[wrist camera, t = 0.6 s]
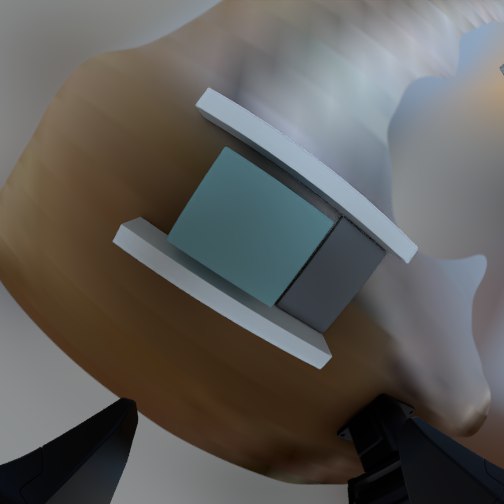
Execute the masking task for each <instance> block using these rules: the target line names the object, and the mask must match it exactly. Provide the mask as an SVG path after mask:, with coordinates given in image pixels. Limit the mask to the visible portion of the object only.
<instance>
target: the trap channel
mask: <svg viewBox="0 0 504 504" xmlns="http://www.w3.org/2000/svg"><path fill="white" fill-rule="evenodd" d="M195 106H196V107H197V108H198V110H199V111H200V113H201V114H202V115H203V117H204V118H206V119H208V120H209V121H211V122H212V123H214V124H216V125H217V126H219V127H221V128H222V129H224V130H225V131H227V132H229V133H230V134H232V135H233V136H235V137H236V138H238V139H239V140H241V141H243V142H244V143H246V144H247V145H249V146H250V147H252V148H253V149H255V150H256V151H258V152H259V153H261V154H262V155H263V156H265V157H266V158H268V159H269V160H271V161H272V162H274V163H275V164H276V165H278V166H279V167H281V168H282V169H284V170H285V171H286V172H288V173H289V174H291V175H292V176H293V177H295V178H296V179H297V180H299V181H300V182H301V183H303V184H304V185H305V186H307V187H308V188H309V189H311V190H312V191H313V192H315V193H316V194H317V195H319V196H320V197H321V198H323V199H324V200H325V201H326V202H328V203H329V204H330V205H332V206H333V207H334V208H335V209H337V210H338V211H339V212H340V213H342V214H343V215H344V216H345V217H347V218H348V219H349V220H350V221H351V222H353V223H354V224H355V225H356V226H358V227H359V228H360V229H361V230H362V231H363V232H365V233H366V234H367V235H368V236H369V237H371V238H372V239H373V240H374V241H375V242H376V243H378V244H379V245H380V246H381V247H382V248H383V249H384V250H385V251H387V252H388V253H390V254H392V255H394V256H395V257H397V258H399V259H400V260H402V261H404V262H405V263H407V264H408V263H409V262H410V260H411V259H412V257H413V256H414V254H415V253H416V251H417V250H418V247H417V246H416V245H415V244H414V243H413V242H412V241H411V240H410V239H409V238H408V237H407V236H406V235H405V234H404V233H403V232H402V231H401V230H400V229H399V228H398V227H397V226H396V225H395V224H394V223H393V222H391V221H390V220H389V219H388V218H387V217H386V216H385V215H384V214H383V213H382V212H381V211H380V210H378V209H377V208H376V207H375V206H374V205H373V204H372V203H371V202H370V201H368V200H367V199H366V198H365V197H364V196H363V195H361V194H360V193H359V192H358V191H357V190H356V189H354V188H353V187H352V186H351V185H350V184H348V183H347V182H346V181H345V180H344V179H342V178H341V177H340V176H339V175H337V174H336V173H335V172H334V171H332V170H331V169H330V168H329V167H327V166H326V165H325V164H324V163H322V162H321V161H320V160H318V159H317V158H316V157H314V156H313V155H312V154H310V153H309V152H308V151H306V150H305V149H304V148H302V147H301V146H300V145H298V144H297V143H295V142H294V141H293V140H291V139H290V138H288V137H287V136H285V135H284V134H283V133H281V132H280V131H278V130H277V129H275V128H274V127H272V126H271V125H269V124H268V123H266V122H265V121H263V120H262V119H260V118H259V117H257V116H256V115H254V114H252V113H251V112H249V111H248V110H246V109H245V108H243V107H241V106H240V105H238V104H236V103H235V102H233V101H231V100H230V99H228V98H226V97H225V96H223V95H221V94H220V93H218V92H216V91H214V90H212V89H211V88H208V89H207V90H206V91H205V93H204V94H203V95H202V97H201V98H200V99H199V101H198V102H197V103H196V105H195ZM167 236H168V235H167V234H165V233H164V232H162V231H161V230H159V229H158V228H156V227H155V226H153V225H152V224H150V223H149V222H148V221H146V220H145V219H143V218H142V217H138V218H136V219H133V220H131V221H128V222H125V223H123V224H121V226H120V228H119V230H118V232H117V234H116V236H115V238H114V240H113V242H114V243H115V244H116V245H118V246H119V247H121V248H122V249H123V250H125V251H126V252H127V253H129V254H130V255H132V256H133V257H135V258H136V259H137V260H139V261H140V262H142V263H143V264H145V265H146V266H147V267H149V268H150V269H152V270H153V271H155V272H156V273H158V274H159V275H161V276H162V277H164V278H165V279H167V280H168V281H170V282H171V283H173V284H174V285H176V286H177V287H179V288H180V289H182V290H183V291H185V292H186V293H188V294H190V295H191V296H193V297H194V298H196V299H197V300H199V301H201V302H202V303H204V304H205V305H207V306H209V307H210V308H212V309H213V310H215V311H217V312H218V313H220V314H222V315H223V316H225V317H227V318H228V319H230V320H232V321H233V322H235V323H237V324H238V325H240V326H242V327H243V328H245V329H247V330H249V331H250V332H252V333H254V334H256V335H257V336H259V337H261V338H263V339H264V340H266V341H268V342H270V343H271V344H273V345H275V346H277V347H279V348H281V349H282V350H284V351H286V352H288V353H290V354H292V355H294V356H295V357H297V358H299V359H301V360H303V361H305V362H307V363H309V364H311V365H313V366H315V367H316V368H318V369H321V368H322V367H323V366H324V365H325V364H326V363H327V362H328V361H329V360H330V359H331V358H332V355H331V353H330V350H329V348H328V346H327V344H326V341H325V339H324V337H323V335H322V333H324V332H325V331H326V330H327V329H328V327H329V326H330V325H331V324H332V323H333V322H334V320H335V319H336V318H337V317H338V316H339V315H340V313H341V312H342V311H343V310H344V308H345V307H346V306H347V305H348V304H349V302H350V301H351V300H352V299H353V297H354V296H355V295H356V294H357V292H358V291H359V290H360V288H361V287H362V286H363V285H364V283H365V282H366V281H367V279H368V278H369V277H370V275H371V274H372V273H373V271H374V270H375V269H376V267H377V266H378V265H379V263H380V262H381V260H382V259H383V258H384V256H385V255H386V253H385V252H384V251H383V250H382V249H381V248H379V247H378V246H377V245H376V244H375V243H374V242H373V241H371V240H370V239H369V238H368V237H367V236H366V235H364V234H363V233H362V232H361V231H360V230H358V229H357V228H356V227H355V226H354V225H352V224H351V223H350V222H349V221H347V220H346V219H345V218H344V217H341V218H340V220H339V221H338V222H337V224H336V225H335V227H334V228H333V229H332V231H331V232H330V234H329V235H328V236H327V238H326V239H325V240H324V242H323V243H322V245H321V246H320V247H319V249H318V250H317V251H316V253H315V254H314V255H313V257H312V258H311V259H310V261H309V262H308V263H307V265H306V266H305V267H304V269H303V270H302V271H301V273H300V274H299V275H298V276H297V278H296V279H295V280H294V282H293V283H292V284H291V286H290V287H289V288H288V289H287V291H286V292H285V293H284V295H283V296H282V297H281V298H280V300H279V301H278V302H277V306H279V307H280V308H279V307H277V306H276V305H274V304H273V306H272V307H269V306H268V305H266V304H265V303H263V302H261V301H260V300H258V299H256V298H255V297H253V296H252V295H250V294H248V293H247V292H245V291H244V290H242V289H240V288H239V287H237V286H236V285H234V284H232V283H231V282H229V281H228V280H226V279H225V278H223V277H221V276H220V275H218V274H217V273H215V272H214V271H212V270H211V269H209V268H207V267H206V266H204V265H203V264H201V263H200V262H198V261H197V260H195V259H194V258H192V257H191V256H189V255H188V254H186V253H184V252H183V251H181V250H180V249H178V248H177V247H175V246H174V245H172V244H171V243H169V242H168V241H166V238H167ZM281 308H282V309H284V310H285V311H284V310H282V309H281ZM286 311H287V312H289V313H290V314H292V315H293V316H292V315H290V314H289V313H287V312H286ZM294 316H295V317H297V318H298V319H297V318H295V317H294ZM299 319H300V320H302V321H303V322H302V321H300V320H299ZM304 322H305V323H307V324H308V325H310V326H311V327H310V326H308V325H307V324H305V323H304ZM312 327H313V328H315V329H316V330H315V329H313V328H312ZM317 330H318V331H320V332H321V333H320V332H318V331H317Z"/></svg>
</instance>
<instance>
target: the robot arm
mask: <svg viewBox="0 0 504 504" xmlns="http://www.w3.org/2000/svg"><path fill="white" fill-rule="evenodd" d="M414 412H415V409H414V407H412V406H410V405H408V404H406V403H403V402H401V401H399V400H397V399H394V398H392V397H390V396H388V395H386V394H382V395H380V396H379V397H378V398H377V399H376V400H374V401H373V402H372V403H371V404H370V405H369V406H368V407H367V408H366V409H365V410H363V411H362V412H361V413H360V414H359V415H358V416H357V417H355V418H354V419H353V420H352V421H351V422H349V423H348V424H347V425H346V426H345V427H343V428H342V429H341V430H340V431H338V432H337V435H338V437H339V438H341V439H345V440H349V441H352V442H353V443H354V446H355V449H356V451H357V454H358V456H359V458H360V460H361V463H362V466H363V469H364V472H366V473H364V474H362V475H360V476H358V477H356V478H352V479H350V480H348V497H349V504H504V469H502V468H500V467H498V466H496V465H495V464H492V463H491V462H489V461H487V460H486V459H483V458H482V457H481V456H479V455H477V454H476V453H474V452H472V451H471V450H469V449H468V448H466V447H464V446H463V445H461V444H459V443H458V442H456V441H454V440H453V439H452V438H450V437H448V436H447V435H445V434H444V433H442V432H441V431H439V430H437V429H436V428H434V427H433V426H431V425H430V424H428V423H427V422H425V421H424V420H422V419H421V418H419V417H411V418H409V417H410V416H411V415H412V414H413V413H414ZM137 424H138V413H137V406H136V402H135V401H134V400H131V399H128V398H121V399H119V400H118V401H116V402H114V403H113V404H111V405H110V406H108V407H107V408H105V409H103V410H102V411H100V412H99V413H97V414H95V415H94V416H92V417H91V418H89V419H87V420H86V421H84V422H82V423H81V424H79V425H77V426H76V427H74V428H73V429H71V430H69V431H67V432H66V433H64V434H62V435H61V436H59V437H57V438H56V439H54V440H52V441H50V442H49V443H47V444H45V445H43V447H39V448H38V449H36V450H34V451H32V452H30V453H28V454H26V455H24V456H22V457H20V458H18V459H15V460H13V461H10V462H8V463H5V464H2V465H0V504H110V502H111V500H112V497H113V495H114V492H115V490H116V487H117V485H118V483H119V480H120V478H121V475H122V473H123V470H124V468H125V465H126V463H127V460H128V457H129V453H130V449H131V445H132V442H133V438H134V435H135V431H136V428H137Z"/></svg>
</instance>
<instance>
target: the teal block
mask: <svg viewBox="0 0 504 504" xmlns="http://www.w3.org/2000/svg"><path fill="white" fill-rule="evenodd" d="M333 224H334V222H333V221H332V220H331V219H329V218H328V217H327V216H325V215H324V214H323V213H321V212H320V211H319V210H317V209H316V208H315V207H313V206H312V205H311V204H309V203H308V202H307V201H305V200H304V199H303V198H301V197H300V196H299V195H297V194H296V193H294V192H293V191H292V190H290V189H289V188H287V187H286V186H285V185H283V184H282V183H280V182H279V181H277V180H276V179H275V178H273V177H272V176H270V175H269V174H267V173H266V172H264V171H263V170H262V169H260V168H259V167H257V166H256V165H254V164H253V163H251V162H250V161H248V160H247V159H245V158H244V157H242V156H241V155H239V154H237V153H236V152H234V151H233V150H231V149H230V148H228V147H227V146H225V148H224V149H223V151H222V152H221V154H220V155H219V156H218V158H217V159H216V161H215V162H214V164H213V165H212V167H211V168H210V170H209V171H208V173H207V174H206V176H205V177H204V179H203V180H202V182H201V183H200V185H199V186H198V188H197V189H196V191H195V193H194V194H193V196H192V197H191V199H190V200H189V202H188V204H187V205H186V207H185V208H184V210H183V212H182V213H181V215H180V216H179V218H178V220H177V221H176V223H175V225H174V226H173V228H172V230H171V231H170V233H169V235H168V236H167V238H166V241H168V242H169V243H171V244H172V245H174V246H175V247H177V248H178V249H180V250H181V251H183V252H184V253H186V254H188V255H189V256H191V257H192V258H194V259H195V260H197V261H198V262H200V263H201V264H203V265H204V266H206V267H207V268H209V269H211V270H212V271H214V272H215V273H217V274H218V275H220V276H221V277H223V278H225V279H226V280H228V281H229V282H231V283H232V284H234V285H236V286H237V287H239V288H240V289H242V290H244V291H245V292H247V293H248V294H250V295H252V296H253V297H255V298H256V299H258V300H260V301H261V302H263V303H265V304H266V305H268V306H269V307H272V306H273V304H274V303H275V302H276V301H277V299H278V298H279V297H280V295H281V294H282V293H283V292H284V290H285V289H286V288H287V286H288V285H289V284H290V282H291V281H292V280H293V279H294V277H295V276H296V275H297V273H298V272H299V271H300V269H301V268H302V267H303V265H304V264H305V263H306V261H307V260H308V259H309V257H310V256H311V254H312V253H313V252H314V250H315V249H316V248H317V246H318V245H319V244H320V242H321V241H322V239H323V238H324V237H325V235H326V234H327V232H328V231H329V230H330V228H331V227H332V225H333Z"/></svg>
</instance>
